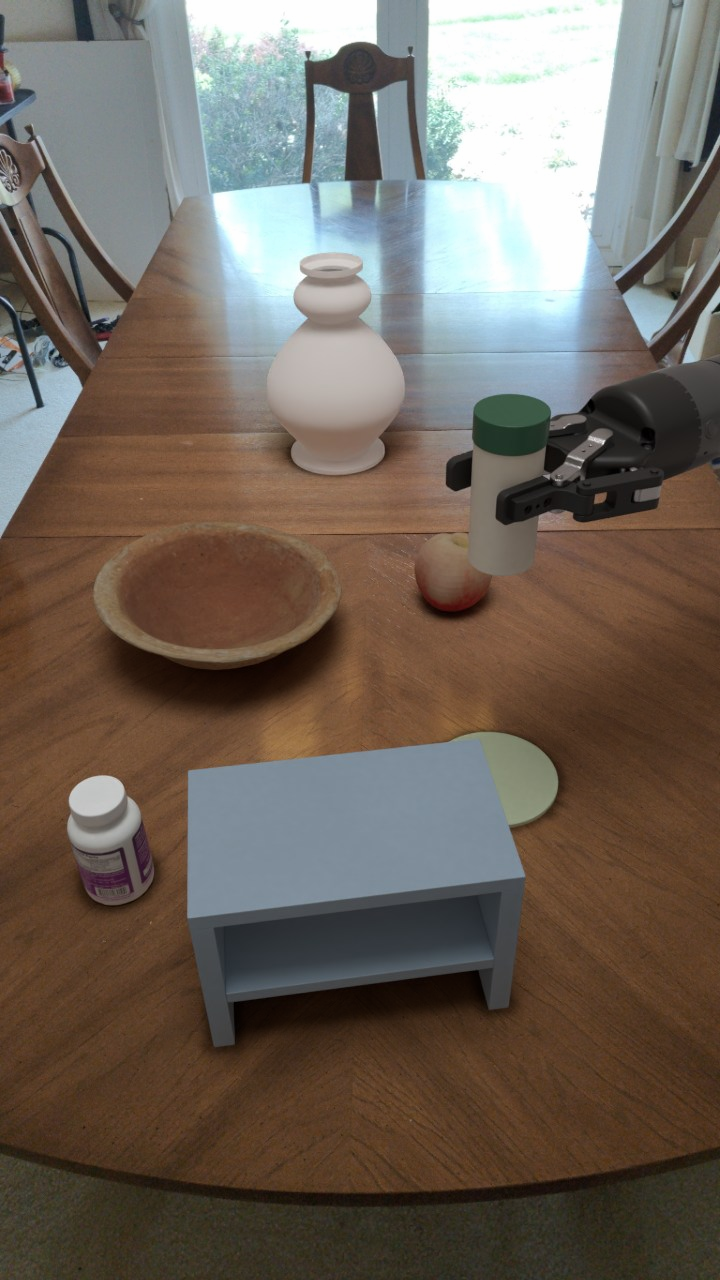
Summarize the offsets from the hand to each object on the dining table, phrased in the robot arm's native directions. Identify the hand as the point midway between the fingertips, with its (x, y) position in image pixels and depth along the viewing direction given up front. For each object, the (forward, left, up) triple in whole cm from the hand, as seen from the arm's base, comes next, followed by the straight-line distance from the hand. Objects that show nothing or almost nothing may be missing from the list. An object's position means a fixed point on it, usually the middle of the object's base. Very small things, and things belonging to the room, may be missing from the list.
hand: (474, 492), depth 63 cm
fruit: (+29, -6, -30) cm, 42 cm away
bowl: (+26, +18, -30) cm, 43 cm away
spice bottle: (+1, -2, -6) cm, 7 cm away
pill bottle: (-3, +27, -30) cm, 41 cm away
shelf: (-12, +10, -30) cm, 34 cm away
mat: (+3, -4, -30) cm, 30 cm away
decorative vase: (+65, +2, -30) cm, 71 cm away
